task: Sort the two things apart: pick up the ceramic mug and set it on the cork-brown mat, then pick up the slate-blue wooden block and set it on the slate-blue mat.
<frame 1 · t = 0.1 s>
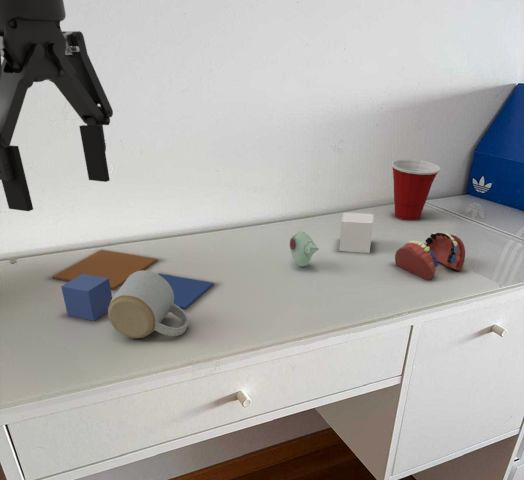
hand: (63, 193, 62), 21 cm above the table, tool pointing down, fingers open, 13 cm apart
ceramic mug: (153, 329, 77), on the table
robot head: (300, 267, 96), on the table
blue mat: (171, 291, 87), on the table
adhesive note: (355, 247, 105), on the table
teeth model: (427, 269, 95), on the table
plastic cup: (408, 217, 122), on the table
blue block: (91, 311, 81), on the table
cork mat: (107, 269, 96), on the table
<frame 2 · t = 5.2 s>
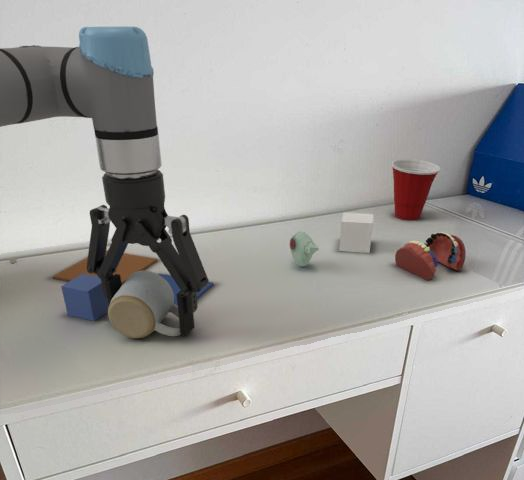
hand: (152, 324, 76), 1 cm above the table, tool pointing down, fingers closed on ceramic mug, 11 cm apart
ceramic mug: (153, 329, 77), on the table, touching gripper
everything else where it was.
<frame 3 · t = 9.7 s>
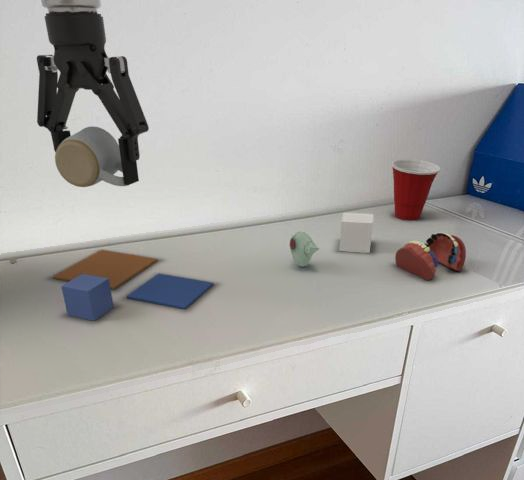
hand: (100, 179, 81), 18 cm above the table, tool pointing down, fingers closed on ceramic mug, 11 cm apart
ceramic mug: (101, 184, 81), point 17 cm above the table, touching gripper
everything else where it was.
when the fingers open (1 cm above the table, at t = 14.7 s): ceramic mug stays where it is, resting on cork mat.
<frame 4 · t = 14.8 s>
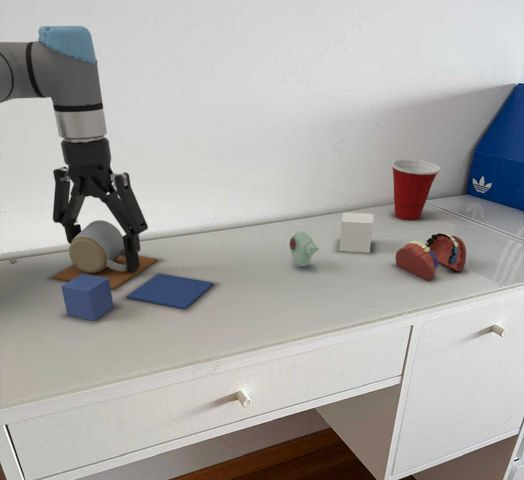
hand: (106, 264, 95), 1 cm above the table, tool pointing down, fingers open, 11 cm apart
ceramic mug: (107, 268, 95), resting on cork mat
everything else where it was.
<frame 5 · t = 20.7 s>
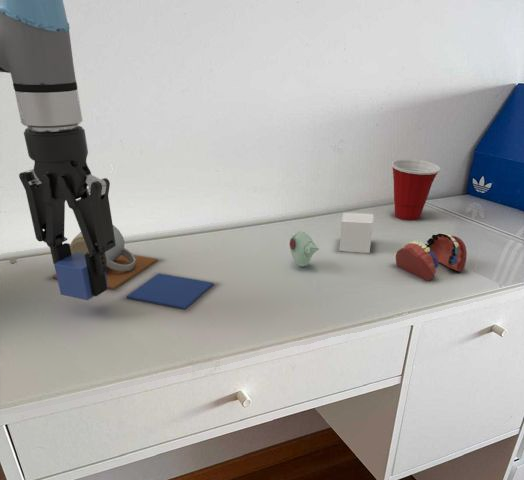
hand: (84, 288, 79), 4 cm above the table, tool pointing down, fingers closed on blue block, 5 cm apart
blue block: (84, 290, 80), point 3 cm above the table, touching gripper
everything else where it was.
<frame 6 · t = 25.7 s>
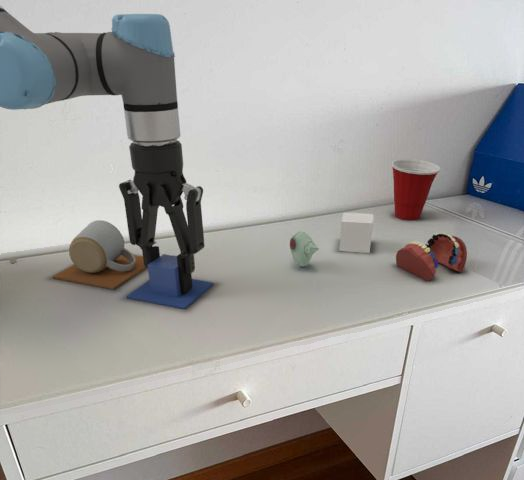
hand: (171, 287, 87), 1 cm above the table, tool pointing down, fingers closed on blue block, 5 cm apart
blue block: (171, 289, 87), resting on blue mat, touching gripper
everything else where it was.
when the fingers open (1 cm above the table, at t = 25.8 s): blue block stays where it is, resting on blue mat.
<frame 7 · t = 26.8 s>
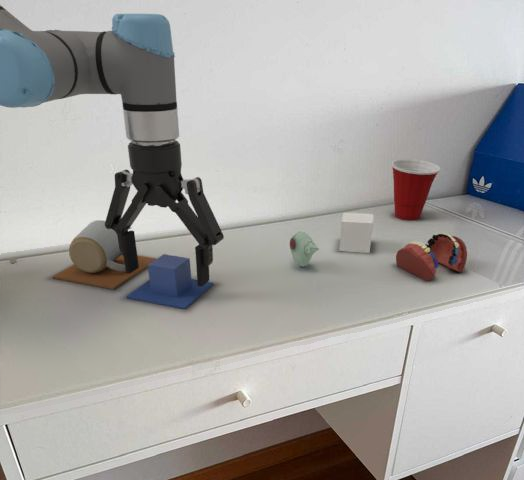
hand: (167, 276, 86), 3 cm above the table, tool pointing down, fingers open, 13 cm apart
blue block: (171, 289, 87), resting on blue mat
everything else where it was.
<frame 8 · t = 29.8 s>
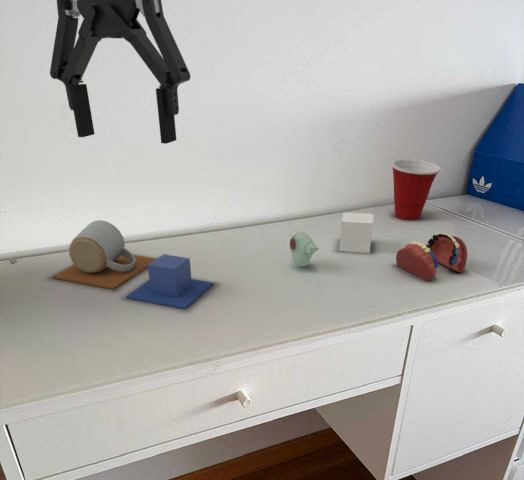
hand: (126, 139, 72), 25 cm above the table, tool pointing down, fingers open, 13 cm apart
nothing on the table moved.
at the end: ceramic mug inside the target area on the cork mat (0.1 cm from its centre), point 0.2 cm above the cork mat's base; blue block inside the target area on the blue mat (0.1 cm from its centre), point 0.4 cm above the blue mat's base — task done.
